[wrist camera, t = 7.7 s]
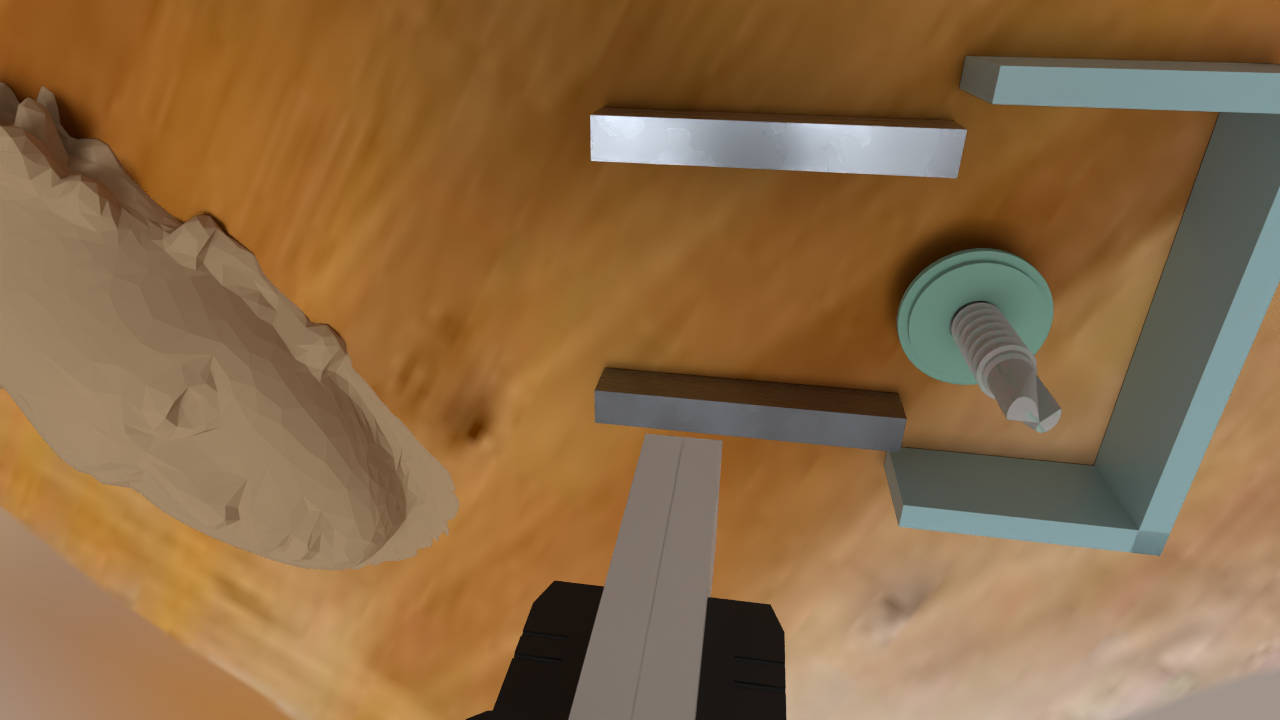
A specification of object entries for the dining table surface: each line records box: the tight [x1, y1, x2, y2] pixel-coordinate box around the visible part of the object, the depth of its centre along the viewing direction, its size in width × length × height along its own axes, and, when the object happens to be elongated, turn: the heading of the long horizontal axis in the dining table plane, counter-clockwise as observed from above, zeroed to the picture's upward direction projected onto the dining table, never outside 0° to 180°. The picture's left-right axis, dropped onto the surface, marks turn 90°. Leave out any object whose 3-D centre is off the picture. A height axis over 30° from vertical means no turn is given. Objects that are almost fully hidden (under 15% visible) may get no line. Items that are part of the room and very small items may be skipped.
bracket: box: [884, 56, 1280, 556], centre depth 25 cm, size 16×9×4 cm, turn 0°
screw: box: [897, 248, 1061, 433], centre depth 23 cm, size 9×5×5 cm
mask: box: [0, 82, 459, 570], centre depth 32 cm, size 15×7×30 cm
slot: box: [590, 107, 967, 452], centre depth 27 cm, size 12×12×2 cm
